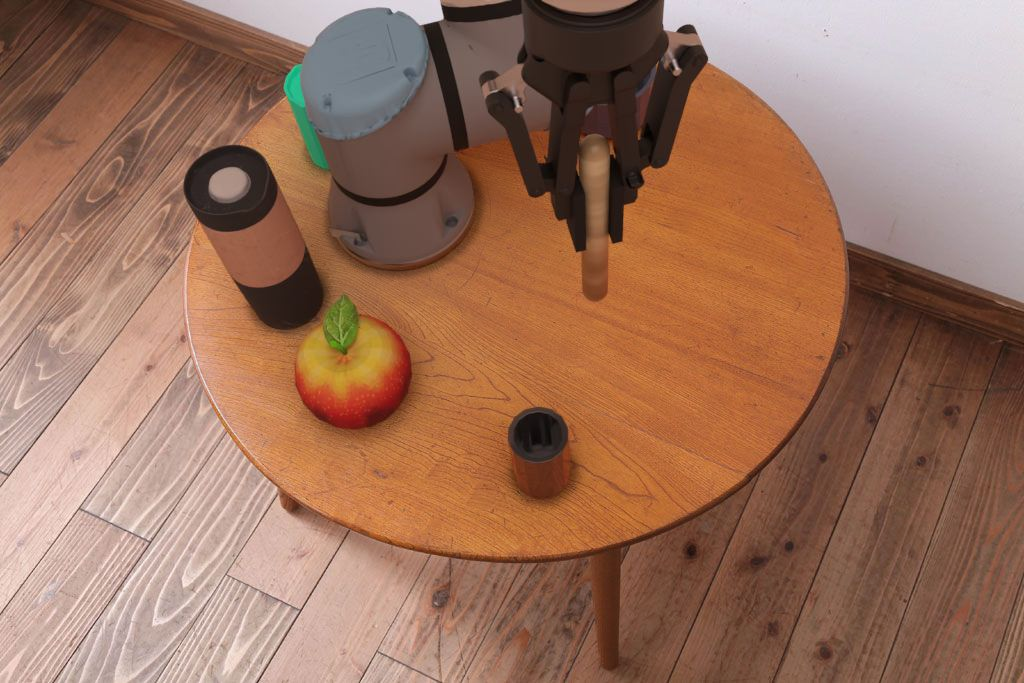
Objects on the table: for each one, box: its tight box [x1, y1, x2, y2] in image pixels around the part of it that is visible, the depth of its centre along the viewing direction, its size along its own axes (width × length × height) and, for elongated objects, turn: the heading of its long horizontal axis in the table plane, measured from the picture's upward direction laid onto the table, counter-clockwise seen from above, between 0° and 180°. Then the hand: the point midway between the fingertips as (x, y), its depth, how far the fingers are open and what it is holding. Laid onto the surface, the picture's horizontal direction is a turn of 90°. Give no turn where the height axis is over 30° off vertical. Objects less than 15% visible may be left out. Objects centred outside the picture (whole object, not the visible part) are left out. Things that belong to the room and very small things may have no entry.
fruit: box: [293, 292, 413, 430], centre depth 93 cm, size 11×11×10 cm
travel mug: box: [182, 144, 324, 331], centre depth 95 cm, size 8×8×20 cm
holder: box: [507, 406, 572, 500], centre depth 89 cm, size 5×5×9 cm
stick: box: [578, 134, 611, 303], centre depth 72 cm, size 2×2×19 cm
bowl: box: [581, 64, 657, 139], centre depth 109 cm, size 10×10×6 cm
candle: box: [283, 63, 330, 171], centre depth 107 cm, size 6×6×12 cm
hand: (594, 231), depth 73 cm, fingers closed on stick, 2 cm apart
